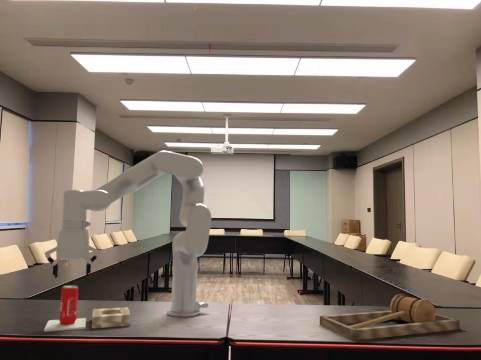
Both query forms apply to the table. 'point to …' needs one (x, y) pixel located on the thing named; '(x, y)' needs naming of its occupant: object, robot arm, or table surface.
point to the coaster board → (56, 326)
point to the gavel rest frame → (338, 326)
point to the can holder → (110, 317)
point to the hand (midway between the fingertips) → (71, 276)
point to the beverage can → (68, 305)
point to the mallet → (405, 311)
